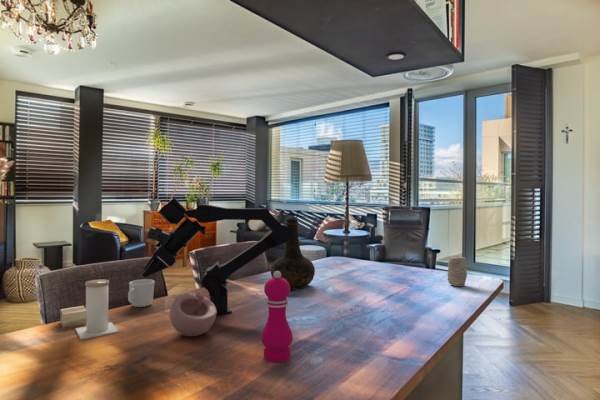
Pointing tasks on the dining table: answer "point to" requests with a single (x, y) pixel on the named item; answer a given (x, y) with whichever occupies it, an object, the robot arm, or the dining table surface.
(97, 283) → the tumbler
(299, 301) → the dining table surface
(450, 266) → the carving
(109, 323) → the mat
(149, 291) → the cup
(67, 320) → the oak block
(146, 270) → the robot arm
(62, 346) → the dining table surface
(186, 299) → the mortar and pestle
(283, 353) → the pepper mill
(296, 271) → the dark brown vase
